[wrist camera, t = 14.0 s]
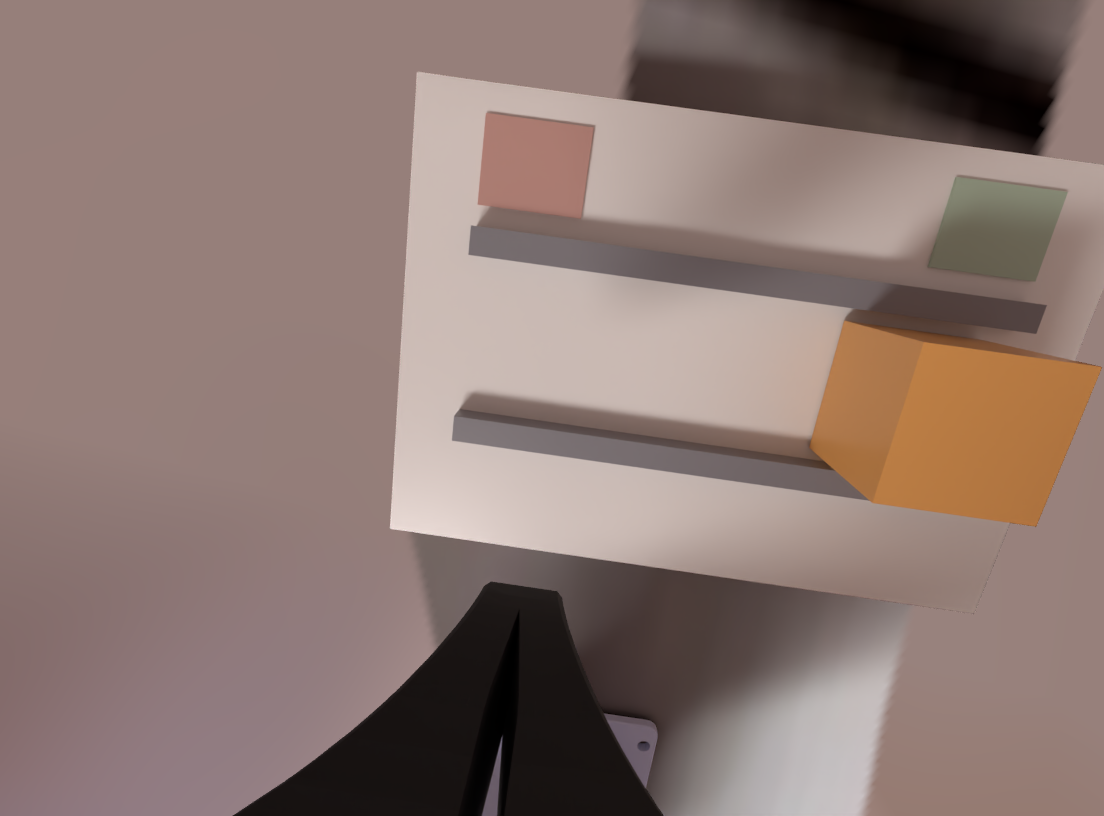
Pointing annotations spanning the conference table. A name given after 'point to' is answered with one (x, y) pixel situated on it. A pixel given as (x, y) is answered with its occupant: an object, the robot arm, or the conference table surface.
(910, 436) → the orange cube
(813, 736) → the conference table surface
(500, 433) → the plate
